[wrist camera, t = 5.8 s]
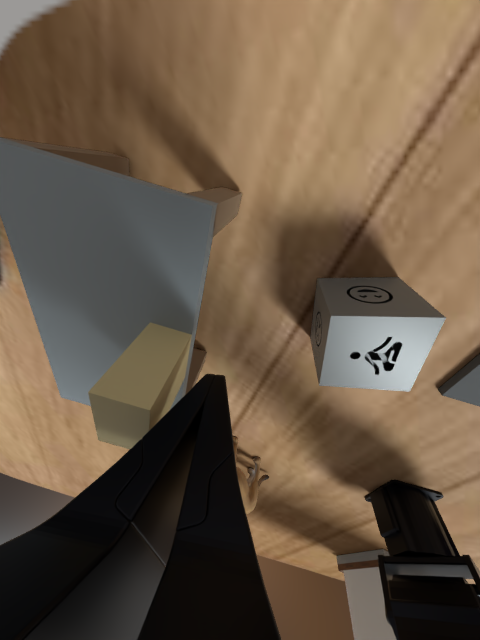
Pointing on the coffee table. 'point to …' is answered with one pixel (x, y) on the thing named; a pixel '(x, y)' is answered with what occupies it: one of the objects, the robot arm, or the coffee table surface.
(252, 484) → the lion figurine
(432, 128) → the coffee table surface
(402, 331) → the dice cube
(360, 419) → the coffee table surface
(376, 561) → the white square tower
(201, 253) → the small grey table
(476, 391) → the mat
